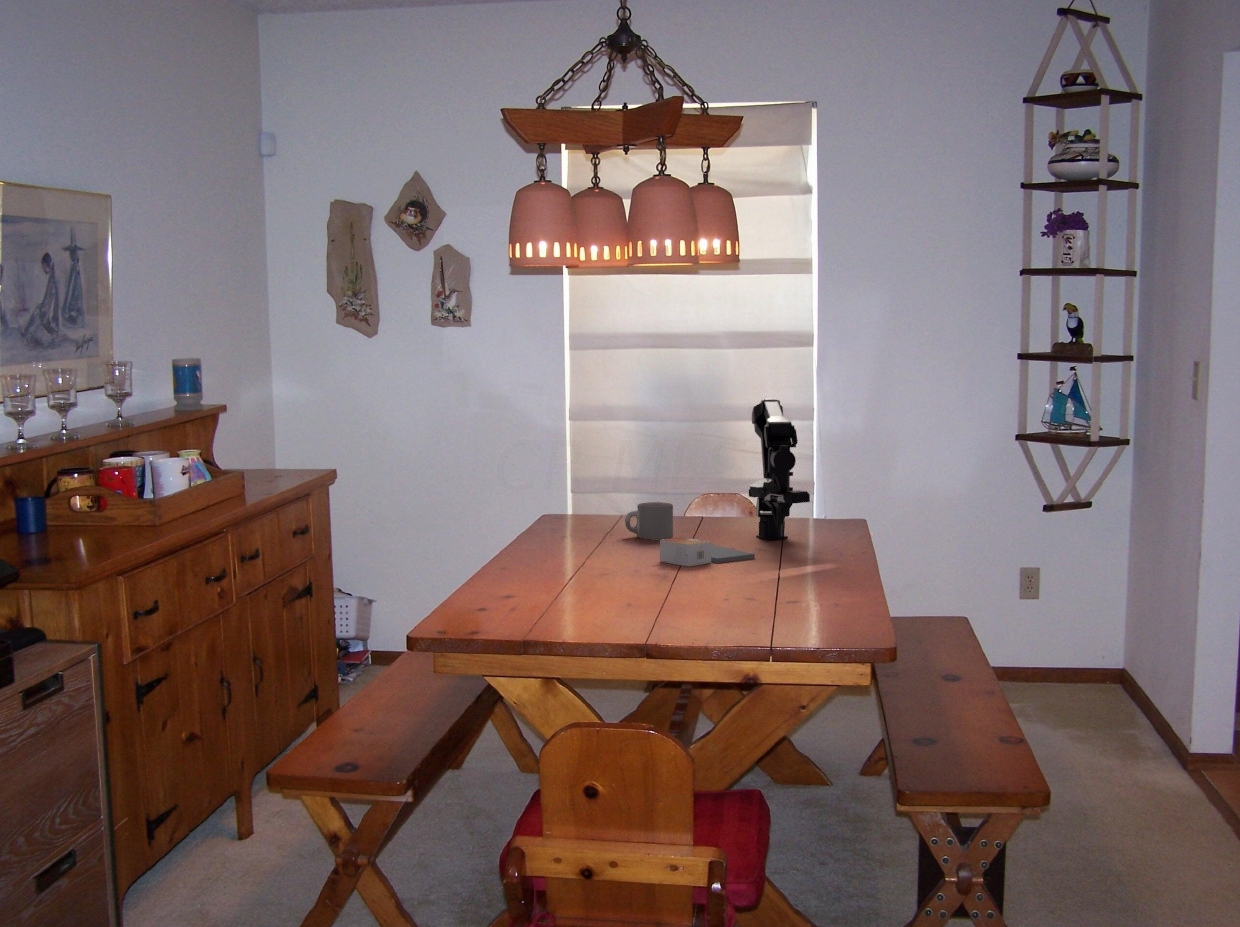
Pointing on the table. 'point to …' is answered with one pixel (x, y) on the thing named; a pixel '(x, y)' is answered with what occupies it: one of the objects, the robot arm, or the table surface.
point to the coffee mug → (652, 520)
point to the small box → (685, 551)
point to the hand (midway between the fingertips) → (778, 526)
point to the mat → (728, 554)
